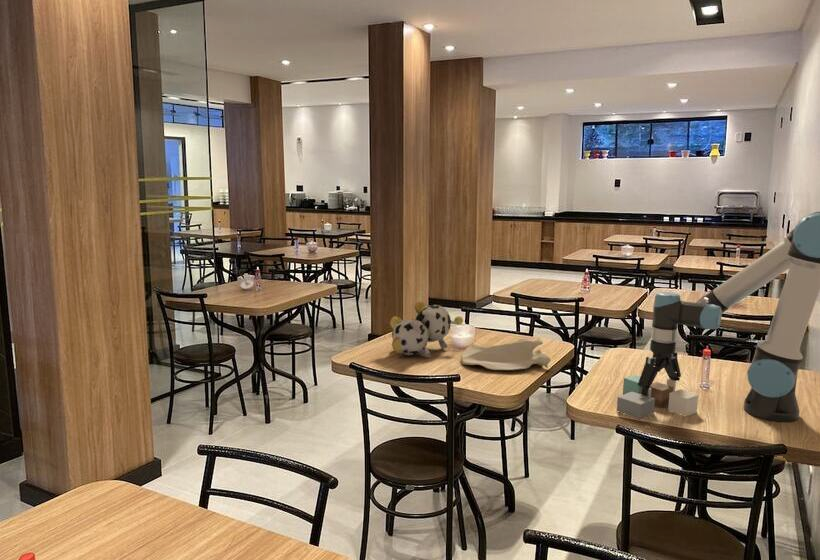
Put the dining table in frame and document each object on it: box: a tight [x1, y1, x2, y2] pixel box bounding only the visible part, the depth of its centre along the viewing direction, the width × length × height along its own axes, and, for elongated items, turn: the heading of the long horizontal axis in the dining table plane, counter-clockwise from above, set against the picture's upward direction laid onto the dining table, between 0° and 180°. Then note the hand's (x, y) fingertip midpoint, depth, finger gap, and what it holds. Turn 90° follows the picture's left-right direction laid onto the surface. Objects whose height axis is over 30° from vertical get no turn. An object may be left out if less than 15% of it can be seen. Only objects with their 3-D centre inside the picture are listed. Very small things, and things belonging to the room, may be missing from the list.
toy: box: [389, 300, 464, 359], centre depth 252 cm, size 21×33×20 cm
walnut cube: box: [650, 381, 673, 409], centre depth 198 cm, size 6×6×6 cm
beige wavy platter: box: [460, 338, 551, 371], centre depth 237 cm, size 36×21×11 cm, turn 63°
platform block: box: [616, 392, 655, 420], centre depth 190 cm, size 8×8×5 cm
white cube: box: [667, 388, 699, 417], centre depth 191 cm, size 6×6×6 cm
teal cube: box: [622, 374, 642, 395], centre depth 205 cm, size 6×6×6 cm
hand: (657, 402), depth 199 cm, fingers open, 13 cm apart
